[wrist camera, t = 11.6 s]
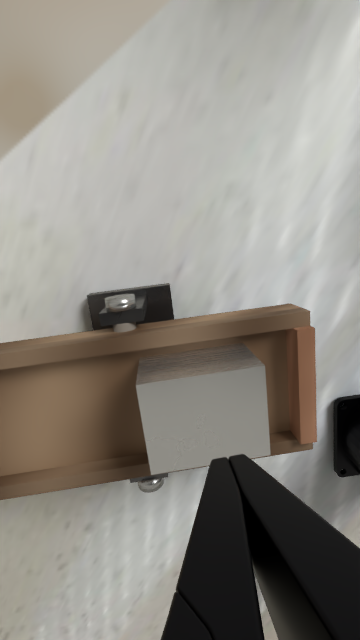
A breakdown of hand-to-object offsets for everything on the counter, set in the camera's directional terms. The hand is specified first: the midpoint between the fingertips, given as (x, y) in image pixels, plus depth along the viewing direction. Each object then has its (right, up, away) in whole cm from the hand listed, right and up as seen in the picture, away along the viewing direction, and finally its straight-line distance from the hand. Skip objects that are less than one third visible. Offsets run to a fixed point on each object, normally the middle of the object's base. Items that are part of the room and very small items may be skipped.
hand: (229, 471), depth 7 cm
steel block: (0, 0, +7) cm, 7 cm away
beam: (-4, +1, +11) cm, 11 cm away
